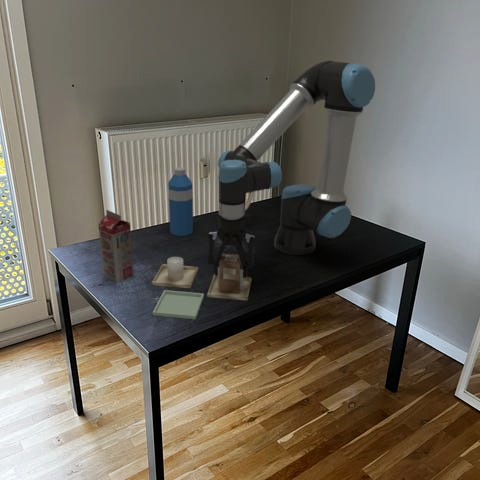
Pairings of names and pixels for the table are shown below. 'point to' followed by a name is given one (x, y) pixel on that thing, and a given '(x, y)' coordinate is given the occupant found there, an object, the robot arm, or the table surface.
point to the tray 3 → (242, 294)
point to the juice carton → (116, 247)
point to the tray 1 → (186, 282)
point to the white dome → (175, 268)
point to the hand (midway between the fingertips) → (230, 285)
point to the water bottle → (180, 203)
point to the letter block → (229, 273)
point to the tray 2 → (178, 304)
